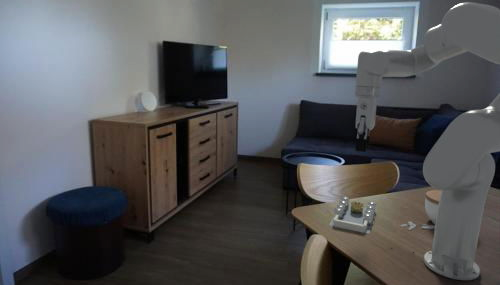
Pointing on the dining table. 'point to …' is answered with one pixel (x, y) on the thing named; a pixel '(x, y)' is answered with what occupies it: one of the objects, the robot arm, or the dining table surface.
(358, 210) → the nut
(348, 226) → the board
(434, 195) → the lidded bowl
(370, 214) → the spacers
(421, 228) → the pliers
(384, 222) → the dining table surface
